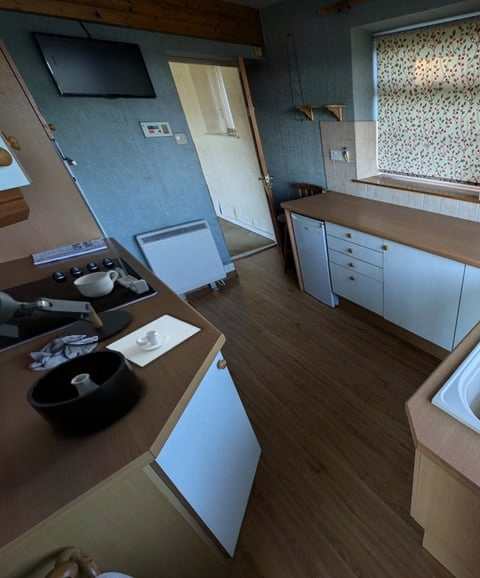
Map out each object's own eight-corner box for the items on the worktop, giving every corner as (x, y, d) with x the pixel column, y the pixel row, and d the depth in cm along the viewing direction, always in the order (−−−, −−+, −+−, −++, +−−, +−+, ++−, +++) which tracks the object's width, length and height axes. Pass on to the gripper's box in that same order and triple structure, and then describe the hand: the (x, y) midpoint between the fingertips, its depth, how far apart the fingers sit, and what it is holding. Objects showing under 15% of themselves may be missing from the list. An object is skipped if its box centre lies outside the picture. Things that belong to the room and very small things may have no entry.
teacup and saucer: (133, 345, 98) (128, 336, 95) (158, 332, 104) (153, 323, 102) (149, 354, 94) (144, 344, 92) (173, 339, 101) (169, 330, 98)
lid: (46, 347, 96) (29, 325, 92) (92, 313, 113) (79, 293, 108) (107, 345, 98) (93, 324, 93) (143, 312, 114) (133, 292, 109)
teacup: (89, 303, 118) (78, 286, 114) (79, 295, 123) (69, 278, 119) (129, 288, 128) (121, 272, 124) (119, 281, 133) (110, 266, 129)
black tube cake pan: (34, 438, 70) (2, 408, 64) (93, 379, 86) (71, 350, 80) (112, 435, 71) (88, 405, 65) (157, 377, 87) (140, 348, 81)
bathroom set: (150, 289, 128) (145, 278, 125) (138, 294, 124) (133, 283, 122) (122, 274, 138) (117, 264, 136) (111, 278, 135) (105, 268, 132)
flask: (107, 413, 76) (86, 388, 70) (74, 418, 74) (51, 392, 69) (122, 391, 82) (105, 365, 76) (92, 395, 80) (72, 369, 75)
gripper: (61, 271, 55) (118, 297, 74) (-149, 302, 46) (-21, 323, 65) (65, 309, 54) (122, 325, 73) (-149, 349, 44) (-19, 355, 64)
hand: (55, 324), depth 69 cm, fingers open, 13 cm apart
